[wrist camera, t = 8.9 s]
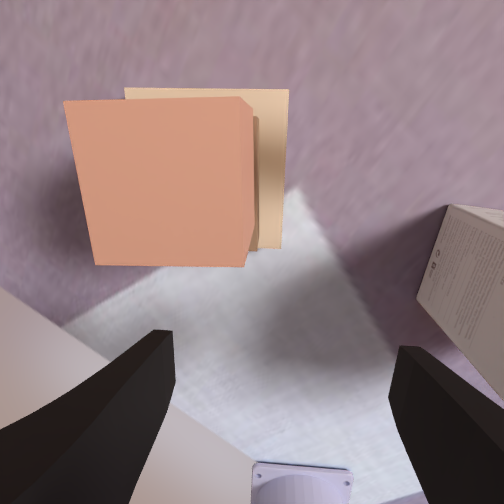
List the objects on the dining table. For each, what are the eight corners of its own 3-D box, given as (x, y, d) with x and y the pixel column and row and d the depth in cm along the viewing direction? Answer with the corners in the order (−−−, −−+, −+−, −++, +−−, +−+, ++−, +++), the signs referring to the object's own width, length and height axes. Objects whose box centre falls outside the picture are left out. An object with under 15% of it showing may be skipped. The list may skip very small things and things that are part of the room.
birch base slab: (280, 235, 21) (280, 248, 18) (155, 231, 21) (140, 243, 19) (287, 95, 18) (289, 89, 15) (143, 93, 18) (124, 87, 16)
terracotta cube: (254, 225, 15) (244, 267, 11) (150, 225, 16) (95, 265, 11) (252, 108, 14) (239, 96, 9) (135, 111, 14) (62, 101, 9)
